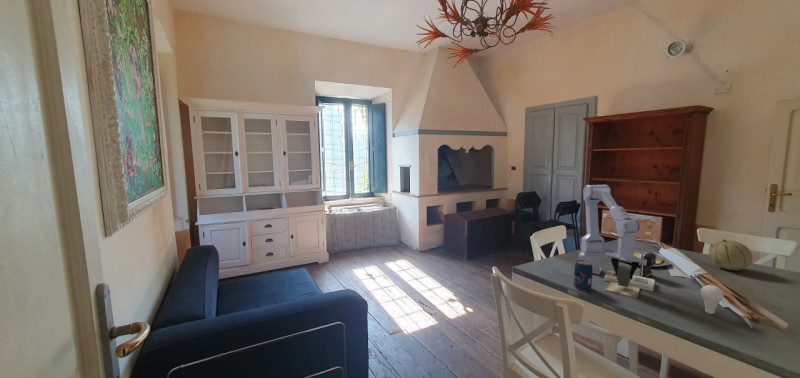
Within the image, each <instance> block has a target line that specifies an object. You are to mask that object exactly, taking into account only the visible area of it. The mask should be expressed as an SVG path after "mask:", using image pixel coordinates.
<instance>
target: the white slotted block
mask: <svg viewBox="0 0 800 378" xmlns="http://www.w3.org/2000/svg"><path fill="white" fill-rule="evenodd" d="M603 281H604V282H605V281H606V282H609V283H610V281H611V282H615V283H618V280H617V276H616V274H615V270H607V271H606V273H605V275H604V276H603ZM655 281H656V279H653V278H651V277H649V278H645V277H641V276H640V275H635V274H633V278H632V279H630V282H629V286H633V287H638V288H640V290H645V291H650V292H654V288H655Z"/></svg>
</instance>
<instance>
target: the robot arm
mask: <svg viewBox="0 0 800 378" xmlns="http://www.w3.org/2000/svg"><path fill="white" fill-rule="evenodd" d="M582 192H583V202H584V203H585V206H584V207H585V221H586V234H585V235H584V236H582V237H581V242H580V250H581V251H579V254H578V260H585V261H589V262H591V265H592V267H593V270H592V274H595V275H600V273H602V271H603V269H602V268H601V261H602V260H601V259H602V258H601V257H602V256H603V254H604V253H605V255H604V258H605V259H611V260H610V263H611V264H612V267H613V271H615V274H616V276H617V269H618V267H619V265H620V264H619V263H620V261H621V262H622V261H623V262H624V261H627V262H632V264H631V263H630V267H631V274H630V279H632V278H633V275H635V272H636V271H637V269H638V268H639V266H640V265H639V264H643V265H646V263H647V260H645V259H641V258H637V257H634V251H635V243H636V234H637V233H638V232H639V231H640V223H639V221H638V220H637V219H635V218H633V217H631V216H630V215H629V214H628V213H627V211H626V210H625V209H624V207H623V206H619V205H618V204H617V202H616V200H615V199H614V197H613V196H612V194H611V192H612V190H611V188H610V186H609V185H608V184H586V185H585V186H584V188H583V189H582ZM601 201H602V202H603V204H604V205H605V206H606V207H607V208H608V209H609V212H608V213H609V215H610V216H611V218H612V220H613V221H614V222H615V223H616V224H615V228H616V231H617V236H618V241H617V250H618V254H612V253H613V252H606V249H607V247H606V243H605V239H604V237H603V236H601V235H600V227H599V210H598V204H599V202H601ZM627 262H626V263H627Z"/></svg>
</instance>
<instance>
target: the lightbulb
mask: <svg viewBox="0 0 800 378" xmlns="http://www.w3.org/2000/svg"><path fill="white" fill-rule="evenodd" d="M700 295H701V297H702V299H703V302H704V304H703V305H704V311H705V313H707V314H708V315H714V314H715V312H716V309H717V308H718V307H717V306H718V304H719V303H721V301H722V300H723V299H724V295H725V294H724V292H723V291H722V289H721V288H719V287H718V286H716V285H710V284H709V285H705V286H703V287H701V288H700Z"/></svg>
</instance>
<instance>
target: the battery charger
mask: <svg viewBox="0 0 800 378" xmlns="http://www.w3.org/2000/svg"><path fill="white" fill-rule="evenodd" d="M656 255H657V254H655V253H651V252H650V251H649V252H647V251H646V253H644V254H642V256H641V259H645V260H647V263H646V265H643V264H641V265H640V268H639V269H640V272H639V276H640V277H645V278H651V277H653V275H654V274H653V272H652V267H653V266H652V265H655V264H656Z"/></svg>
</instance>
